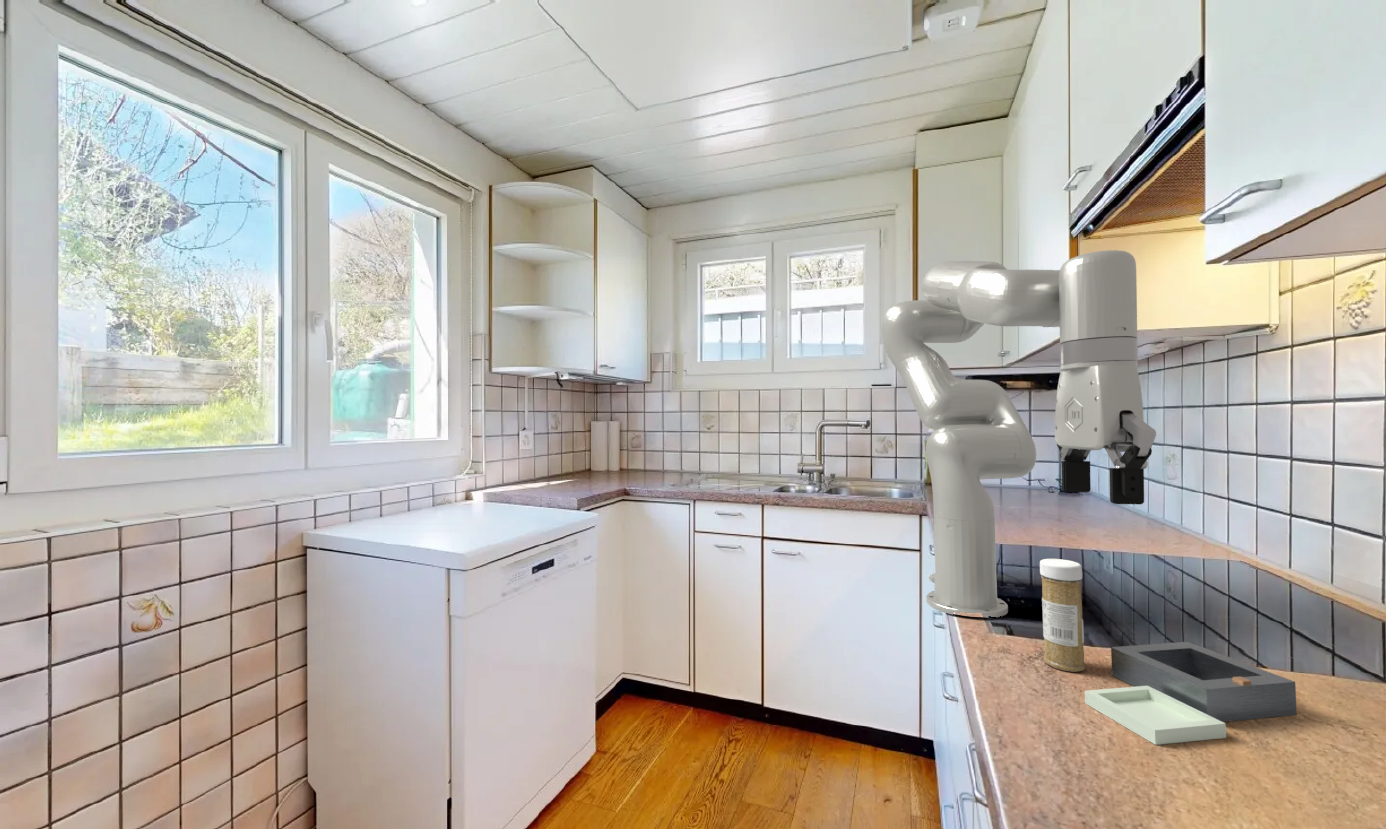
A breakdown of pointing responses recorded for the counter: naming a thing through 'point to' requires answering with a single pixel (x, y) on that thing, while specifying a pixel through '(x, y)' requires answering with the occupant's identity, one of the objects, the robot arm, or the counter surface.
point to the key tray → (1155, 715)
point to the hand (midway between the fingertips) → (1099, 497)
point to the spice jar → (1062, 614)
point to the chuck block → (1206, 680)
